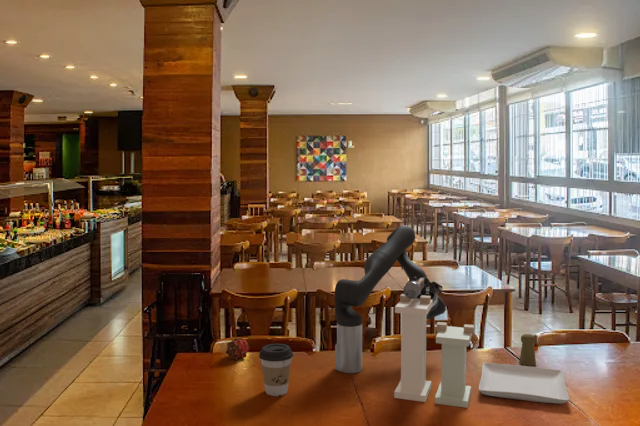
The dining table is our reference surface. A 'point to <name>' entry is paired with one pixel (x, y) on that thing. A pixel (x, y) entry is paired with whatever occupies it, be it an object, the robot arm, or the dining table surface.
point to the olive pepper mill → (527, 350)
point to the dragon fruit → (237, 348)
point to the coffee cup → (276, 368)
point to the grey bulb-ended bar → (413, 288)
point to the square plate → (523, 383)
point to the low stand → (453, 364)
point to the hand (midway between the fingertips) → (420, 279)
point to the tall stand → (413, 348)
